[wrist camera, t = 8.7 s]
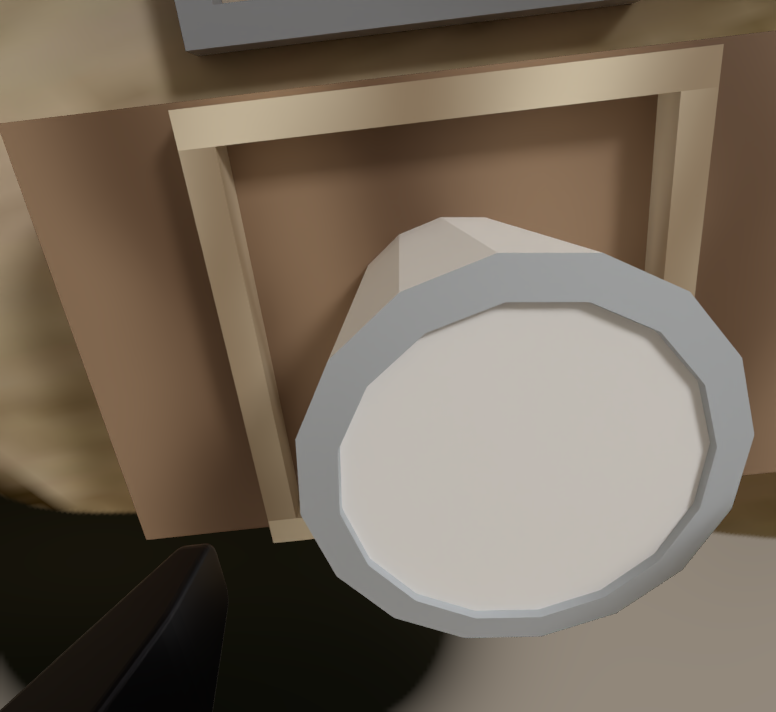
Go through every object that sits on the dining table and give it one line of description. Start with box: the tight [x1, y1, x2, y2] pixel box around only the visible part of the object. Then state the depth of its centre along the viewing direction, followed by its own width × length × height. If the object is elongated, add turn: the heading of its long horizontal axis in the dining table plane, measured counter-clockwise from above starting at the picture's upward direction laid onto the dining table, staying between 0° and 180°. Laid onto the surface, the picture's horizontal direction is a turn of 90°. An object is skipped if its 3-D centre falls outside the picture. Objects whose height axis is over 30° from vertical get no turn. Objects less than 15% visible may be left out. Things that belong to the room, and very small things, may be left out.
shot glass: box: [295, 217, 754, 638], centre depth 11 cm, size 7×7×7 cm
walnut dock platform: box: [0, 31, 776, 543], centre depth 16 cm, size 20×12×6 cm, turn 96°
